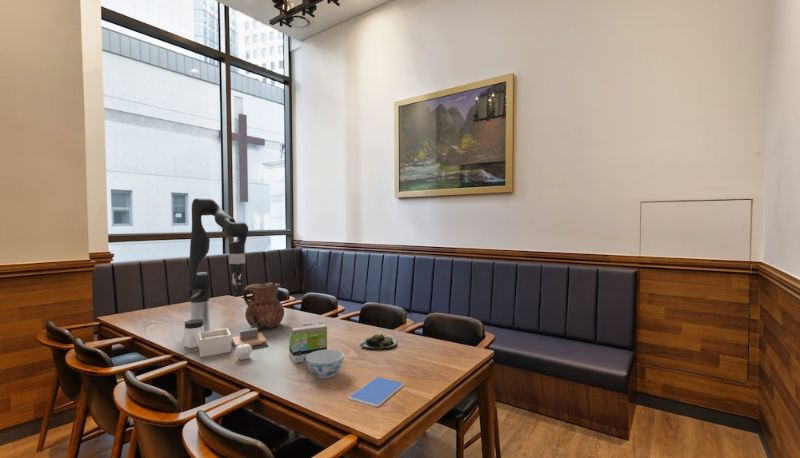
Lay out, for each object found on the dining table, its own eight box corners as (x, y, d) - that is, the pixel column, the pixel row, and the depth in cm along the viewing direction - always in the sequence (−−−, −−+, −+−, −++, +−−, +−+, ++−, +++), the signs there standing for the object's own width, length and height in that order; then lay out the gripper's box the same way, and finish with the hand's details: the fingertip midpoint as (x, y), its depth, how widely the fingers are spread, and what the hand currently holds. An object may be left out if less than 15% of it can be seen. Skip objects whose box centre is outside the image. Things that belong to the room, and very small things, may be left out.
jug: (270, 319, 232) (270, 279, 232) (292, 324, 220) (291, 283, 219) (237, 328, 214) (236, 285, 214) (258, 334, 202) (258, 289, 201)
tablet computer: (377, 379, 145) (377, 375, 145) (405, 385, 139) (405, 382, 139) (347, 400, 128) (347, 397, 128) (378, 409, 122) (378, 405, 122)
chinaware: (309, 386, 139) (309, 365, 139) (303, 371, 153) (303, 352, 152) (348, 378, 145) (348, 359, 145) (339, 365, 159) (338, 347, 158)
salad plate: (361, 338, 195) (361, 329, 195) (395, 337, 196) (395, 328, 196) (358, 351, 176) (358, 341, 176) (396, 350, 176) (396, 340, 176)
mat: (230, 342, 190) (230, 341, 190) (261, 337, 197) (261, 336, 197) (235, 352, 175) (235, 351, 175) (268, 346, 183) (268, 345, 183)
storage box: (198, 348, 180) (198, 332, 180) (227, 343, 187) (227, 328, 187) (200, 357, 169) (200, 339, 169) (231, 351, 176) (231, 334, 176)
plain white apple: (235, 357, 169) (234, 339, 169) (251, 354, 172) (251, 337, 172) (234, 362, 163) (234, 344, 162) (252, 359, 165) (251, 342, 165)
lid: (232, 341, 189) (231, 328, 188) (260, 337, 196) (260, 324, 196) (235, 350, 177) (235, 335, 176) (266, 344, 184) (266, 330, 184)
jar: (184, 349, 180) (184, 324, 180) (183, 344, 187) (183, 320, 186) (205, 345, 185) (204, 321, 185) (203, 341, 192) (203, 318, 191)
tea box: (293, 364, 159) (293, 330, 159) (289, 357, 168) (288, 324, 168) (327, 358, 166) (327, 325, 166) (321, 351, 175) (321, 320, 175)
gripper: (226, 260, 190) (227, 292, 191) (231, 264, 178) (231, 297, 179) (242, 260, 194) (242, 290, 195) (247, 263, 182) (247, 296, 183)
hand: (237, 294), depth 187 cm, fingers open, 8 cm apart
